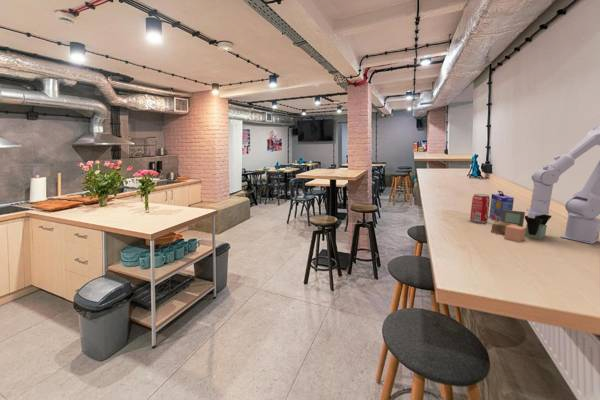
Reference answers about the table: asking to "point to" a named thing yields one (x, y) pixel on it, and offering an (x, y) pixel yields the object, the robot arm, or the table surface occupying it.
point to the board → (513, 217)
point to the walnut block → (500, 227)
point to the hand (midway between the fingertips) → (535, 233)
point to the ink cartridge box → (500, 205)
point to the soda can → (480, 208)
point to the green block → (539, 234)
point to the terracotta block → (515, 233)
